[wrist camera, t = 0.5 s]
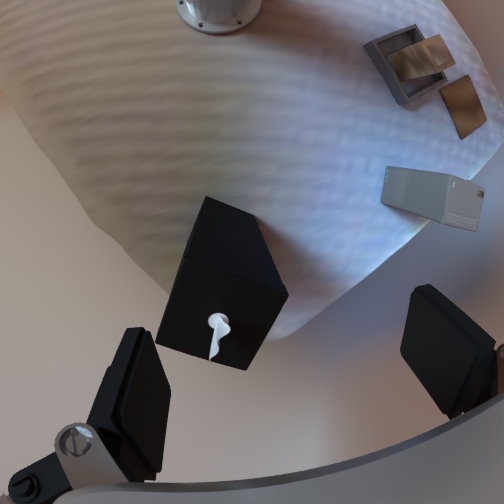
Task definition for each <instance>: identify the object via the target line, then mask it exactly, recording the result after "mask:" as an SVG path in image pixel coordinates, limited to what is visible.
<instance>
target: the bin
mask: <svg viewBox="0 0 504 504" xmlns="http://www.w3.org/2000/svg"><path fill="white" fill-rule="evenodd" d="M405 32H407V34H408V35H409V37H410V39H411V40H412V42H413V43H414V44H415V43H418V42H420V41H423V40H425V38H424V36H423V35H422V33H421V32H420V30H419V28H418V27H417V25H416V24H414V25H412V26H409V27H406V28H403V29H400V30H398V31H395V32H392V33H390V34H387V35H385V36H382V37H380V38H377V39H375V40H372V41H370V42H369V43H367V44H365V45H364V46H363V47H364V48H365V50H366V51H367V53H368V54H369V56H370V57H371V59H372V61H373V62H374V64H375V65H376V67H377V69H378V70H379V72H380V74H381V75H382V77H383V79H384V80H385V82H386V84H387V85H388V87H389V89H390V91H391V93H392V94H393V96H394V98H395V100H396V102H397V104H404V103H409V102H410V101H412V100H414V99H416V98H417V97H419V96H421V95H423V94H425V93H426V92H428V91H430V90H432V89H433V88H435V87H437V86H439V85H441V84H443V83H444V82H446V81H448V80H447V78H446V76H445V74H444V72H443V70H442V71H440V72H438V73H435V74H431V75H432V77H433V79H434V81H432V82H430V83H428V84H427V85H425V86H423V87H421V88H419V89H417V90H416V91H414V92H412V93H410V94H408V95H406V93H405V91H404V89H403V87H402V85H401V83H400V82H399V80H398V78H397V76H396V75H395V73H394V71H393V70H392V68H391V66H390V64H389V63H388V61H387V60H386V58H385V56H384V55H383V53H382V52H381V50H380V49H379V47H378V45H377V44H378V43H380V42H382V41H385V40H387V39H390V38H392V37H395V36H397V35H400V34H402V33H405Z"/></svg>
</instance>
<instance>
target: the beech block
mask: <svg viewBox="0 0 504 504" xmlns="http://www.w3.org/2000/svg"><path fill="white" fill-rule="evenodd" d="M386 57H387V58H388V60H389V62H390V63H391V65H392V67H393V68H394V70H395V72H396V73H397V75H398V77H399V79H400V80H401V81H405V80H409V79H413V78H417V77H422V76H426V75H431V74H435V73H438V72H440V71H442V70H444V69H446V68H448V67H450V66H452V65H454V64H455V62H454V60H453V58H452V56H451V54H450V52H449V50H448V48H447V47H446V45H445V43H444V41H443V40H442V38H441V36H440V34H439V35H436V36H433V37H431V38H428V39H425V40H423V41H420V42H418V43H415V44H413V45H410V46H408V47H405V48H403V49H400V50H398V51H396V52H394V53H391V54H389V55H387V56H386Z"/></svg>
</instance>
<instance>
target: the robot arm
mask: <svg viewBox="0 0 504 504" xmlns="http://www.w3.org/2000/svg"><path fill="white" fill-rule="evenodd" d="M261 3H262V0H176V7H177V11H178V14H179V16H180V18H181V19H182V20H183V21H184V23H185V24H187V25H188V26H189V27H191V28H193V29H195V30H197V31H200V32H204V33H210V34H223V33H230V32H233V31H236V30H239V29H241V28H243V27H245V26H246V25H248V24H249V23H251V22H252V21H253V20H254V19H255V17H256V16H257V14H258V13H259V10H260V8H261ZM181 4H182V5H181ZM238 23H241V24H238ZM200 26H203V27H200ZM495 343H496V341H495V340H494V339H493V338H492V337H491V336H490V335H489V334H488V333H487V332H485V331H484V330H483V329H482V328H481V327H480V326H479V325H478V324H477V323H476V322H474V321H473V320H472V319H471V318H470V317H469V316H467V315H466V314H465V313H464V312H463V311H462V310H461V309H460V308H458V307H457V306H456V305H455V304H454V303H452V302H451V301H450V300H449V299H448V298H447V297H445V296H444V295H443V294H442V293H441V292H439V291H438V290H437V289H436V288H434V287H433V286H432V285H430V284H426V285H422V286H418V287H416V288H415V289H414V291H413V292H412V293H411V297H410V303H409V309H408V315H407V319H406V324H405V329H404V334H403V338H402V343H401V347H400V351H401V355H402V357H403V358H404V360H405V361H406V363H407V364H408V365H409V367H410V368H411V369H412V371H413V372H414V374H415V375H416V376H417V378H418V379H419V380H420V382H421V383H422V385H423V386H424V388H425V389H426V390H427V392H428V393H429V395H430V396H431V397H432V399H433V400H434V402H435V403H436V405H437V406H438V408H439V409H440V411H441V412H442V413H443V414H446V415H447V416H448V418H449V419H450V420H451V421H449V422H447V423H445V424H443V425H440V426H438V427H436V428H434V429H432V430H430V431H428V432H425V433H423V434H420V435H418V436H416V437H413V438H411V439H408V440H406V441H403V442H401V443H398V444H396V445H393V446H390V447H387V448H384V449H382V450H379V451H376V452H373V453H369V454H367V455H363V456H360V457H357V458H353V459H350V460H347V461H342V462H339V463H335V464H331V465H327V466H322V467H318V468H314V469H309V470H304V471H299V472H294V473H288V474H283V475H276V476H269V477H262V478H254V479H245V480H233V481H220V482H200V483H144V480H154V481H155V480H156V473H160V472H161V469H162V460H163V451H164V444H165V435H166V427H167V419H168V412H169V405H170V398H171V389H170V385H169V382H168V380H167V377H166V375H165V372H164V369H163V367H162V364H161V361H160V358H159V355H158V353H157V350H156V347H155V344H154V341H153V338H152V335H151V333H150V331H145V329H144V328H143V327H135V328H127V329H126V331H125V333H124V335H123V338H122V340H121V342H120V345H119V347H118V349H117V352H116V354H115V357H114V359H113V362H112V364H111V366H109V367H108V368H107V370H106V373H105V375H104V377H103V380H102V383H101V385H100V387H99V390H98V393H97V395H96V398H95V400H94V403H93V406H92V409H91V411H90V414H89V417H88V419H87V422H86V424H85V423H73V424H70V425H67V426H66V427H64V428H63V429H62V430H61V431H60V432H59V433H58V434H57V436H56V439H55V444H54V446H55V452H54V453H52V454H50V455H48V456H46V457H45V458H43V459H41V460H39V461H37V462H35V463H33V464H31V465H30V466H28V467H26V468H24V469H22V470H20V471H18V472H17V473H16V474H14V475H13V476H12V478H11V479H10V482H9V485H8V492H9V495H8V496H6V495H5V494H3V495H2V496H1V497H0V504H504V344H502V345H500V346H499V347H498V348H497V350H496V351H495V350H494V349H493V348H494V346H495ZM462 412H464V414H463V415H461V414H462ZM459 415H461V416H459ZM458 416H459V417H458ZM456 417H457V418H456ZM454 418H455V419H454ZM452 419H453V420H452Z"/></svg>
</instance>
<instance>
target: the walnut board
mask: <svg viewBox="0 0 504 504" xmlns="http://www.w3.org/2000/svg"><path fill="white" fill-rule="evenodd" d="M439 91H440V93H441V95H442V97H443V100H444V102H445V104H446V106H447V108H448V111H449V113H450V115H451V118H452V120H453V123H454V125H455V128H456V130H457V133H458V135H459V138H460V139H462V138H464V137H465V136H466V135H468V134H469V133H471V132H472V131H473V130H475V129H476V128H477V127H479V126H480V125H481V124H483V123H484V122H485V121H487V119H486V116H485V113H484V110H483V108H482V105H481V103H480V100H479V98H478V95H477V93H476V90H475V88H474V86H473V84H472V81H471V79H470V77H469V75H466V76H464V77H462V78H460V79H458V80H456V81H455V82H453V83H451V84H449V85H447V86H446V87H444V88H442V89H440V90H439Z"/></svg>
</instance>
